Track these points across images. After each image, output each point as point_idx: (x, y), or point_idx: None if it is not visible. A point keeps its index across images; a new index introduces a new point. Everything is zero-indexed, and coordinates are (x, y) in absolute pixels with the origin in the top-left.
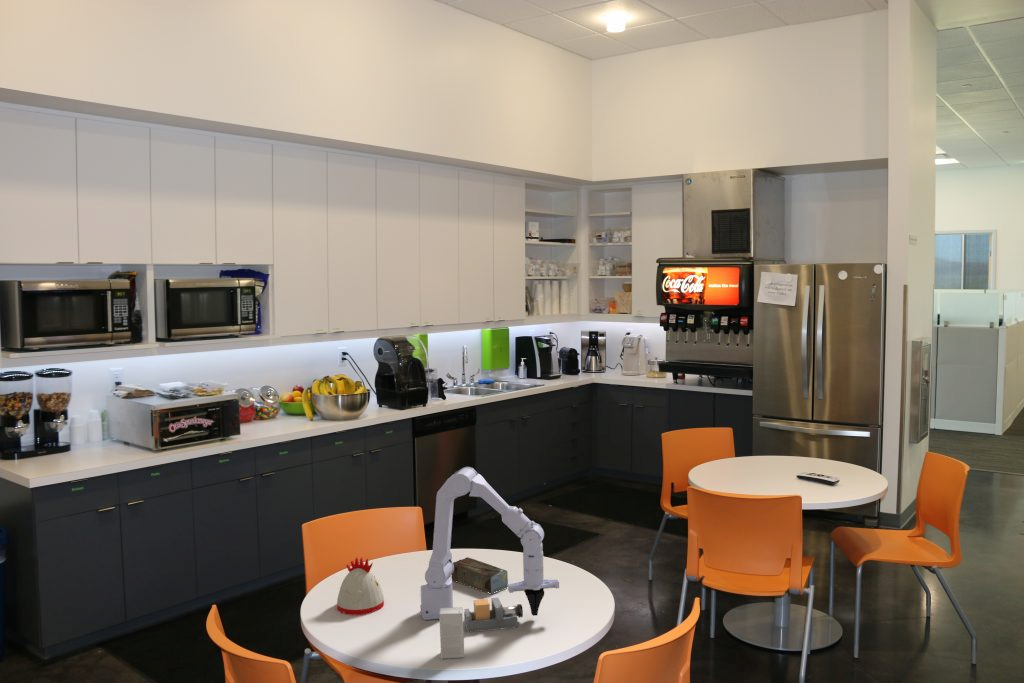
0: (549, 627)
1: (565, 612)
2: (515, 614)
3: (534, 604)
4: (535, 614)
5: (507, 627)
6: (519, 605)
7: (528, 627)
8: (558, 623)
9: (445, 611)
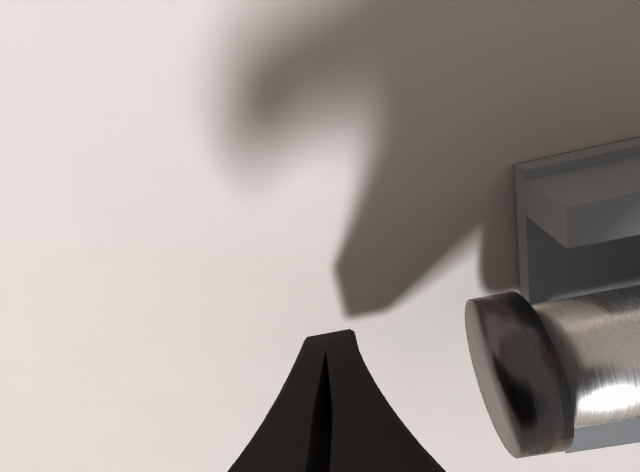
0: (175, 154)
1: (88, 438)
2: (568, 302)
3: (335, 419)
4: (324, 337)
5: (636, 139)
6: (554, 414)
7: (398, 158)
8: (101, 246)
9: None
